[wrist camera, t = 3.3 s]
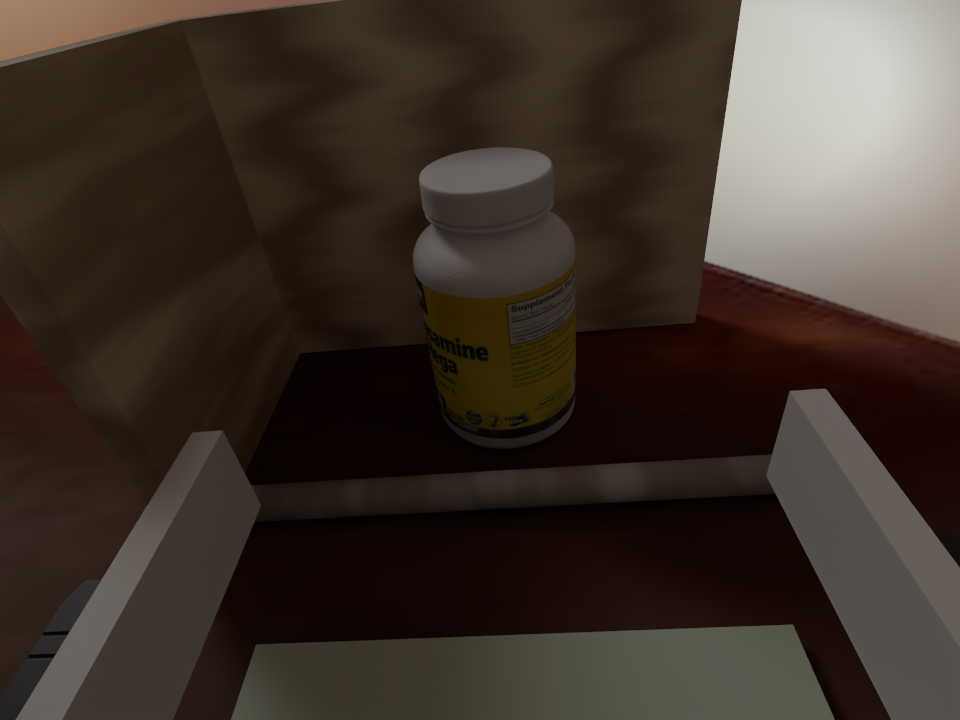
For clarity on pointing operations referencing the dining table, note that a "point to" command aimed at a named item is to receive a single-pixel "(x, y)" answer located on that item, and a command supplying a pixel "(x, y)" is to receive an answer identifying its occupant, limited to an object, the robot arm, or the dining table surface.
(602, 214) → the wooden corner wall
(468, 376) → the pill bottle
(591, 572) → the dining table surface
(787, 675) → the pad
